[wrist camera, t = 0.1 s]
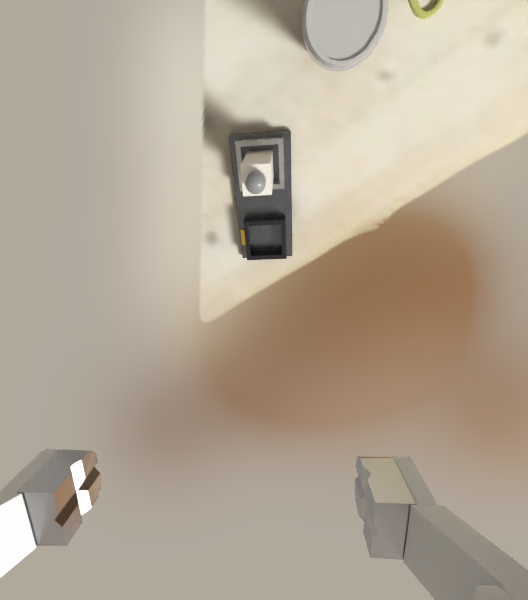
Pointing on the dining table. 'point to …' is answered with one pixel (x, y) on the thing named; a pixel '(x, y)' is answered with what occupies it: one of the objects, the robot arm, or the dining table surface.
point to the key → (421, 13)
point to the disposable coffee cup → (342, 30)
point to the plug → (257, 173)
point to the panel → (265, 198)
